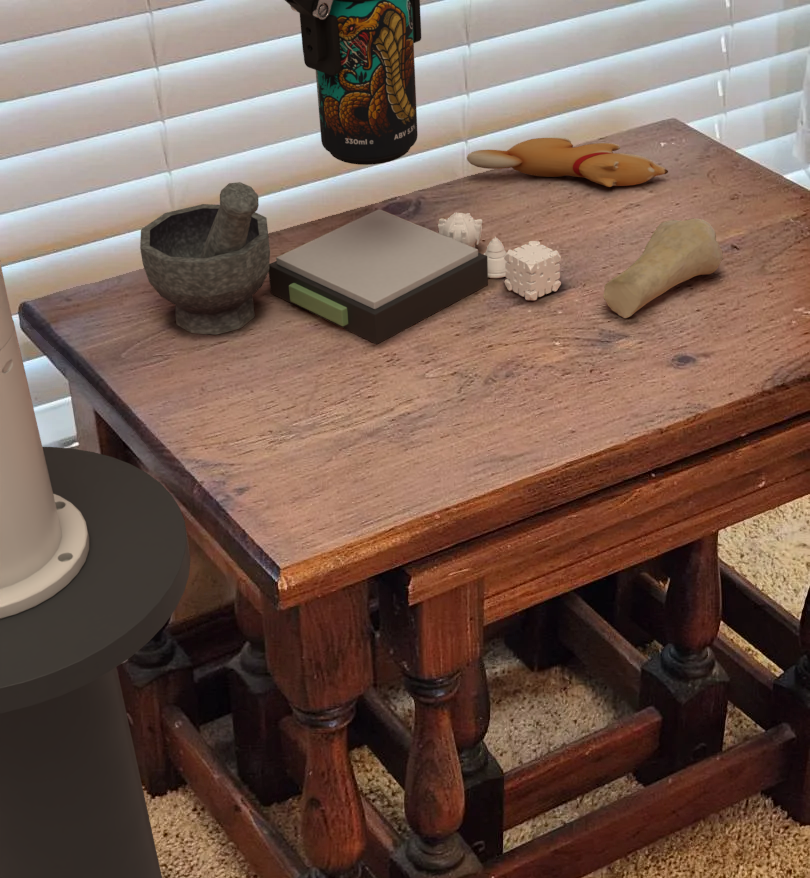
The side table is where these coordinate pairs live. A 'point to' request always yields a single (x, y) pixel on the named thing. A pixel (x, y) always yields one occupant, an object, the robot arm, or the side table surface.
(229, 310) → the mortar and pestle
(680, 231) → the tan bone
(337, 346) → the side table surface
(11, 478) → the robot arm
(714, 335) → the side table surface
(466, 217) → the game pieces
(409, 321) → the scale
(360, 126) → the beverage can
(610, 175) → the toy
